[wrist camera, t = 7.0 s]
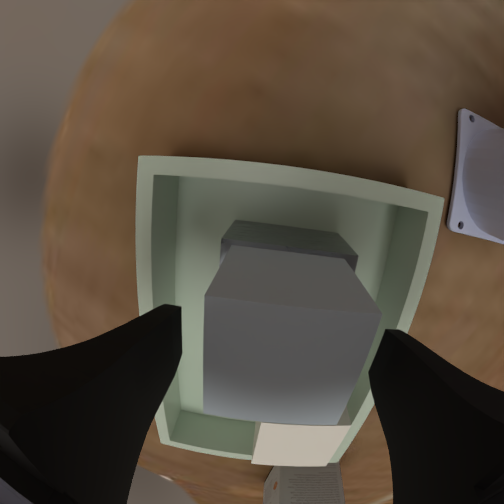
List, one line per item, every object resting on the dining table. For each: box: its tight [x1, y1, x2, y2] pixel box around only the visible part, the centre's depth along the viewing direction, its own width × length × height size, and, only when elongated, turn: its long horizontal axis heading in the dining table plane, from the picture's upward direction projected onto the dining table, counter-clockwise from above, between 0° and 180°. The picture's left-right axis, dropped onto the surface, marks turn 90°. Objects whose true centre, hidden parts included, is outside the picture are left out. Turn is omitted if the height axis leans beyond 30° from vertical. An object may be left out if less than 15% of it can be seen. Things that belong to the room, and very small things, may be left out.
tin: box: [219, 220, 359, 273], centre depth 13 cm, size 6×6×4 cm
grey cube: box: [203, 245, 382, 425], centre depth 9 cm, size 4×4×4 cm
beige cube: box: [251, 405, 351, 466], centre depth 16 cm, size 5×5×5 cm
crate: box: [136, 156, 445, 463], centre depth 15 cm, size 14×20×4 cm
